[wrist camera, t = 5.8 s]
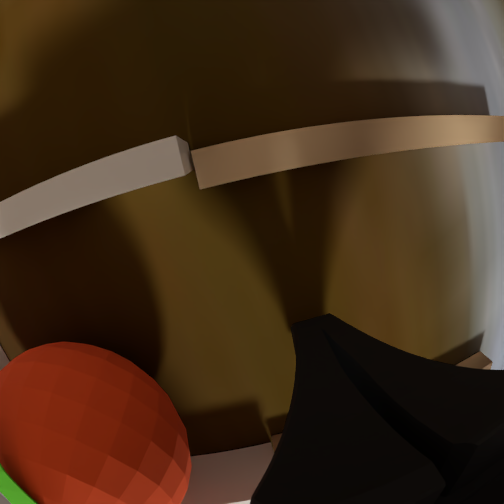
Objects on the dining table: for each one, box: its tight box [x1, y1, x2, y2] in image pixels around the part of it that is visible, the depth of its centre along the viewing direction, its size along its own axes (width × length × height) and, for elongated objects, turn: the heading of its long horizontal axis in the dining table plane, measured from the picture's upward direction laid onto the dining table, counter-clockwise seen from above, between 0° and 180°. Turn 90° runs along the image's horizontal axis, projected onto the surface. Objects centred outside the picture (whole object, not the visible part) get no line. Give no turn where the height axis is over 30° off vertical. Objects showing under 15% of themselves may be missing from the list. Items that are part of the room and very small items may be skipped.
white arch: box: [0, 135, 274, 504], centre depth 9 cm, size 11×14×3 cm
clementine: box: [0, 341, 192, 504], centre depth 7 cm, size 8×7×7 cm
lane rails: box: [191, 115, 504, 450], centre depth 10 cm, size 12×13×1 cm
